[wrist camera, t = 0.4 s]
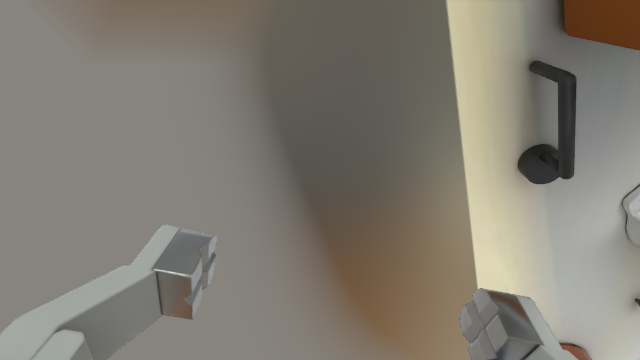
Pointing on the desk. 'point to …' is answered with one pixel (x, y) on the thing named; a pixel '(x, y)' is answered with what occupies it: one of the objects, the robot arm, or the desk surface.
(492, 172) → the desk surface
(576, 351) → the flower pot
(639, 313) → the desk surface
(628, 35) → the alarm clock
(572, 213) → the desk surface
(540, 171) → the door handle
